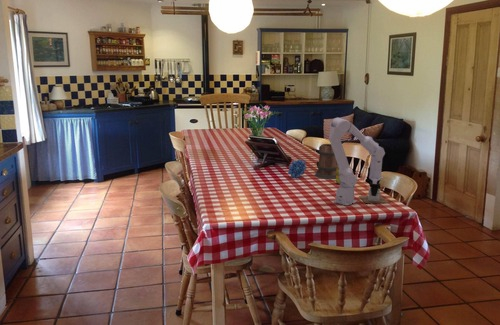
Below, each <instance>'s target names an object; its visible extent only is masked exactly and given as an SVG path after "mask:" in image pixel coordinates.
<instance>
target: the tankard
mask: <svg viewBox="0 0 500 325" xmlns="http://www.w3.org/2000/svg"><path fill="white" fill-rule="evenodd" d="M318 154H319V155H318V160H317V161H316V168H317V171H316V172H315V174H314V177H315V178H317V179H322V180H336V171H337V165H338V164H337V161H336V158H335V155H334V152H333V149H332V146H331V143H322V144H320V146H319V147H318Z"/></svg>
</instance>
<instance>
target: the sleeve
mask: <svg viewBox="0 0 500 325" xmlns="http://www.w3.org/2000/svg"><path fill="white" fill-rule="evenodd" d="M367 196H368V200H371V201H379V198H380V196H381V189H380V188H378V191H377V194H376V196H372V194H371V188H370V187H369V188H368V195H367Z"/></svg>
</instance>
